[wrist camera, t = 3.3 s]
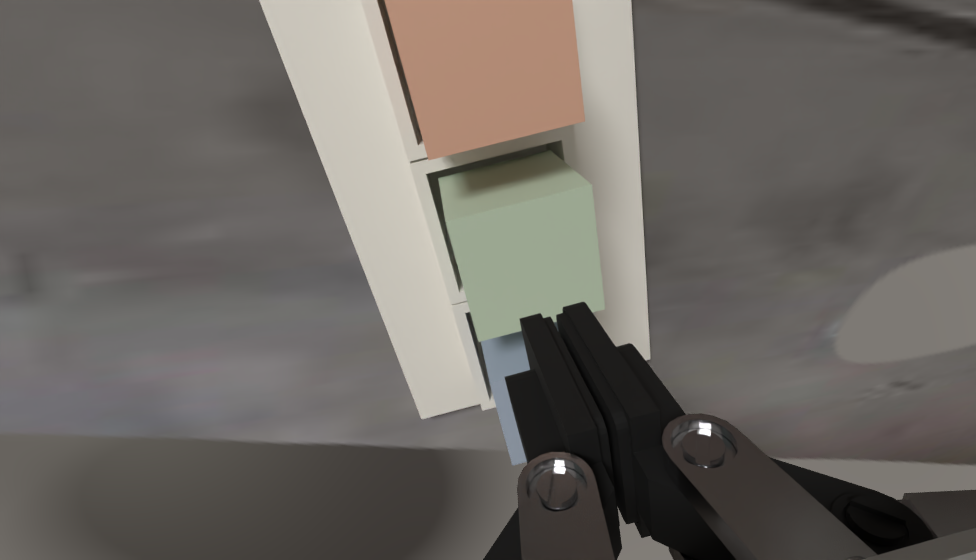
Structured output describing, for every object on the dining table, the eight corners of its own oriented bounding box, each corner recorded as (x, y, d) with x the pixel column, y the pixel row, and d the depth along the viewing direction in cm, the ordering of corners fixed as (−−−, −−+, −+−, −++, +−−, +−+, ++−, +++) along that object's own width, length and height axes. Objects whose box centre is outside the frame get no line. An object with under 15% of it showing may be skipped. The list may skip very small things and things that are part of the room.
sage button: (550, 149, 19) (592, 184, 14) (564, 251, 21) (605, 309, 16) (438, 177, 18) (445, 221, 14) (465, 277, 21) (478, 342, 16)
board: (611, -162, 17) (662, -214, 14) (643, 349, 29) (675, 393, 25) (237, -74, 17) (191, -104, 13) (421, 407, 28) (422, 459, 25)
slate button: (570, 287, 22) (609, 351, 17) (581, 363, 24) (618, 437, 20) (474, 312, 22) (489, 382, 17) (494, 386, 24) (512, 465, 19)
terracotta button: (521, -44, 16) (564, -76, 11) (542, 100, 18) (585, 121, 13) (387, -11, 15) (376, -30, 11) (425, 129, 18) (428, 160, 13)
